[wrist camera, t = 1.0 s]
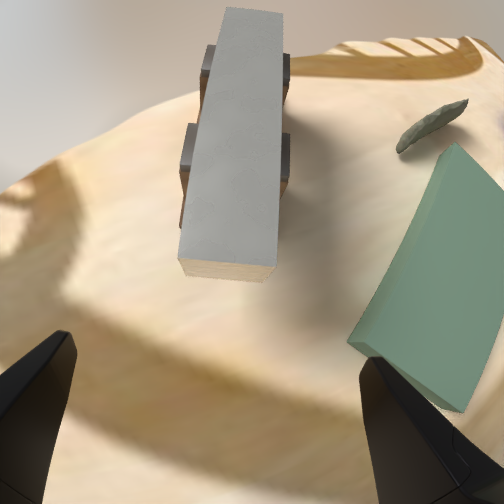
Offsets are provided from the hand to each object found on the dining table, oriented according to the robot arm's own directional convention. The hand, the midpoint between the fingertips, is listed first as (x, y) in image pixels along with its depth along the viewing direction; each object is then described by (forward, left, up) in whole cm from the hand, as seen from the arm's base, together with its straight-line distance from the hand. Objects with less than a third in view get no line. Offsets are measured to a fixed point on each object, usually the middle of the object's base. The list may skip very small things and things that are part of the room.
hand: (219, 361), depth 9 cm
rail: (+12, -2, -7) cm, 15 cm away
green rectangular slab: (+4, -21, -13) cm, 25 cm away
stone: (+19, -22, -14) cm, 32 cm away
